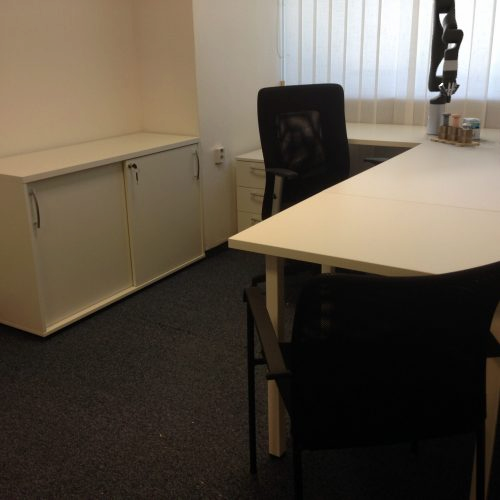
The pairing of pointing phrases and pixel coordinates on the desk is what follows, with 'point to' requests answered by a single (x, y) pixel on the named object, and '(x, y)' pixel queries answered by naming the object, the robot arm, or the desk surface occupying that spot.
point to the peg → (446, 119)
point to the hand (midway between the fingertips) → (447, 102)
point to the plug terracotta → (456, 120)
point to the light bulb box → (474, 126)
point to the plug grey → (466, 126)
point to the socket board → (455, 136)
